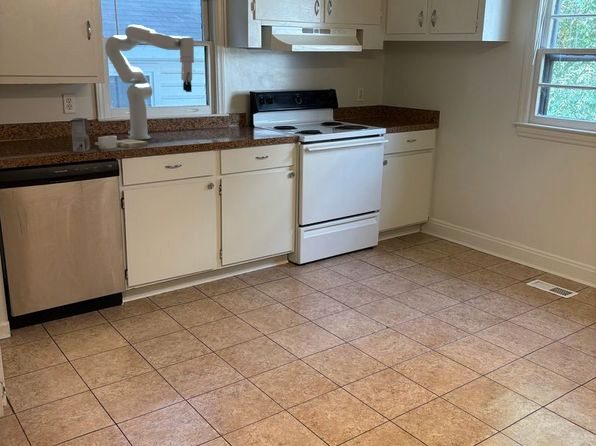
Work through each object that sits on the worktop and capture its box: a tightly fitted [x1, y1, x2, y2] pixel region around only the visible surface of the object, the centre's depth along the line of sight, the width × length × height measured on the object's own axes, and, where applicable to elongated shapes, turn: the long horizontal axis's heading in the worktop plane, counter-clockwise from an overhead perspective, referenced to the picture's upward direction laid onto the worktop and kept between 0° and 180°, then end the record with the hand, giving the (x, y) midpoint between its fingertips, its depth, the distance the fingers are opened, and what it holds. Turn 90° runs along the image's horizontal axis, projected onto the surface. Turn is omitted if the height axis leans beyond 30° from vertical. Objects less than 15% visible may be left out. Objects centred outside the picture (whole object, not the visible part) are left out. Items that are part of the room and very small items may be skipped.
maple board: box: [117, 138, 149, 149], centre depth 332 cm, size 16×12×2 cm
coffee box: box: [70, 117, 91, 153], centre depth 310 cm, size 9×6×16 cm
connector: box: [94, 135, 118, 150], centre depth 320 cm, size 4×12×6 cm, turn 142°
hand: (187, 91), depth 341 cm, fingers open, 9 cm apart
